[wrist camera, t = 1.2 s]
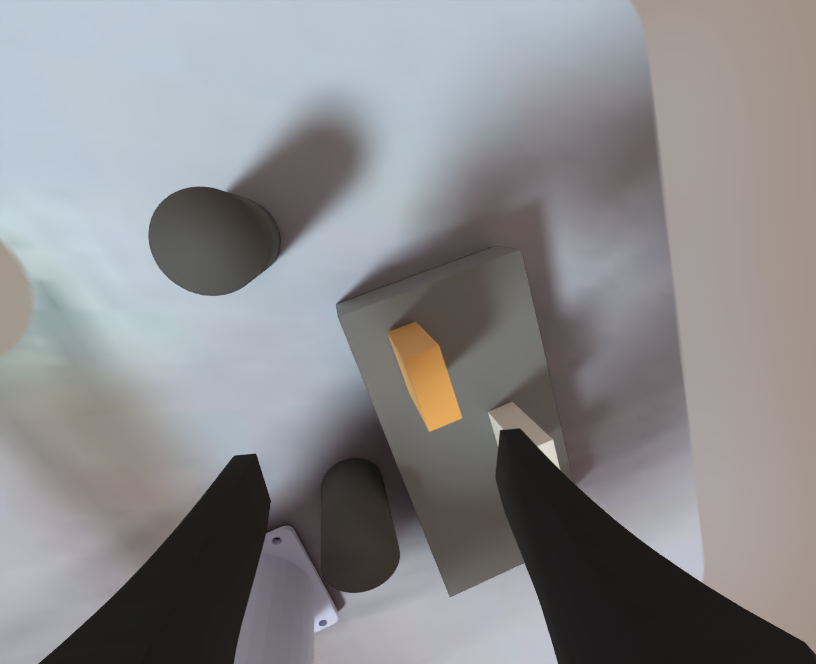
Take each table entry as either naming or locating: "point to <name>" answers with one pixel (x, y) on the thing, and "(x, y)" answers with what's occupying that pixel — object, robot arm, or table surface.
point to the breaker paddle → (425, 375)
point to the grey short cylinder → (356, 528)
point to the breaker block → (461, 400)
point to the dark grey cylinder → (212, 240)
